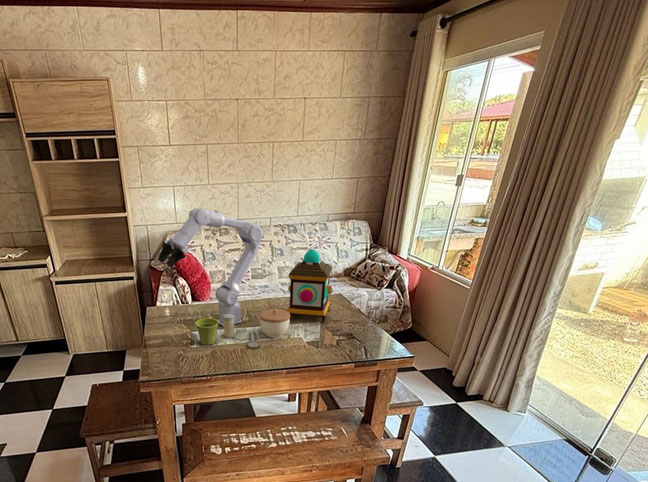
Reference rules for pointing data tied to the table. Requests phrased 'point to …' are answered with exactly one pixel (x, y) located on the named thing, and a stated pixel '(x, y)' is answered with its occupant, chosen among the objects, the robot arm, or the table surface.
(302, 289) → the decorative lantern
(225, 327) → the shaker
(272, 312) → the lidded bowl
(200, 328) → the plant pot
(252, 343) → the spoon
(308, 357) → the table surface
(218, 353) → the table surface
